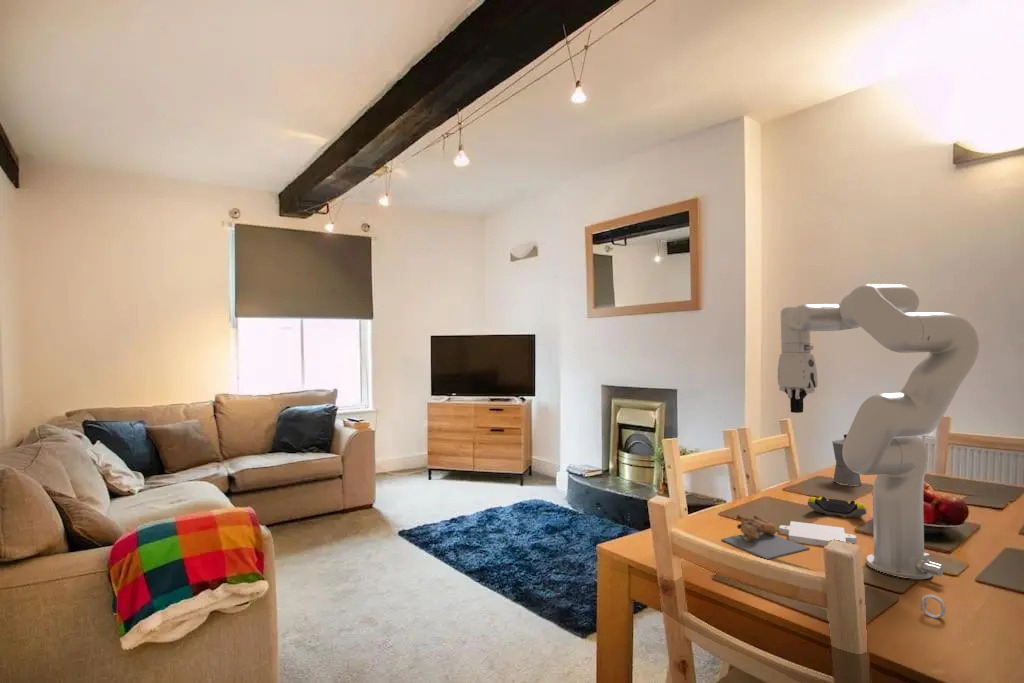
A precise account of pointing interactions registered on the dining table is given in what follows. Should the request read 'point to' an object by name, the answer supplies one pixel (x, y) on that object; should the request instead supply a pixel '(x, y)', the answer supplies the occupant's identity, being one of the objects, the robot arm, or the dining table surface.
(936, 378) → the robot arm
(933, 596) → the grey ring
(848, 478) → the coffeepot
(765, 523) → the lion figurine
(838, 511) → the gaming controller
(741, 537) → the mat
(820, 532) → the mounting plate
